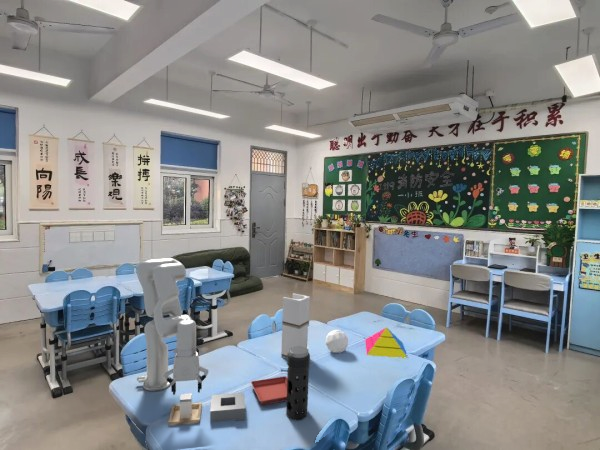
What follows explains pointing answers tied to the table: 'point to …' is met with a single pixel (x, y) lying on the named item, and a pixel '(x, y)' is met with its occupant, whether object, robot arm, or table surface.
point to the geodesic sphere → (336, 341)
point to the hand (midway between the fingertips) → (186, 392)
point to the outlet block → (227, 407)
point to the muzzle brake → (297, 382)
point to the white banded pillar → (295, 322)
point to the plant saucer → (271, 389)
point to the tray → (176, 420)
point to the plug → (185, 405)
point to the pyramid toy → (385, 345)
